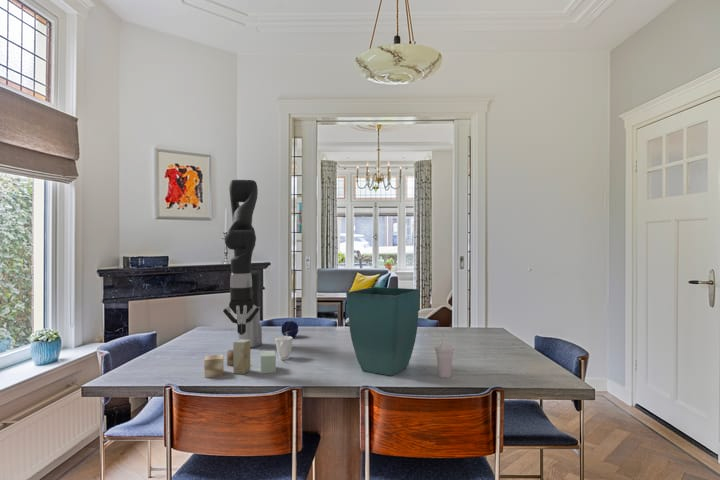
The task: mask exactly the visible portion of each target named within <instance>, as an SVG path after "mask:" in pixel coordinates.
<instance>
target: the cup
mask: <svg viewBox="0 0 720 480" xmlns="http://www.w3.org/2000/svg"><path fill="white" fill-rule="evenodd" d="M293 339H294V337H291V336H284V335H282V336H276V337H275V345H276V351H277V354H278V356H279V357H278V359H279V360H281V361H285V360H288V359H291V358H290V355H291V352H292V347H293Z"/></svg>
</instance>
